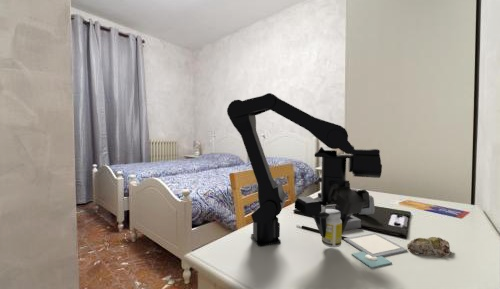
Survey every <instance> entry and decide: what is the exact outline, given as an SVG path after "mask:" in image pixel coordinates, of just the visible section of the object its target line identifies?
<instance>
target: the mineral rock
mask: <svg viewBox="0 0 500 289" xmlns="http://www.w3.org/2000/svg"><path fill="white" fill-rule="evenodd" d="M450 247H451V246H450V242H449V241H447V239H443V238H441V237H436V236H430V237H428V238H427V237H426V238H425V237H416V238H414V239H413V240H411V241H410V242H408V243H407V250H409V251H410V253H412V254H416V255H420V256H435V257H437V258H438V257H439V258H444V257H447V256H449V255H450V253H451V250H450Z"/></svg>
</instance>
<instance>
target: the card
mask: <svg viewBox="0 0 500 289" xmlns="http://www.w3.org/2000/svg"><path fill="white" fill-rule="evenodd" d="M351 256H353V257H354V258H356V259H357V260H359V261H360V262H361V263H363V264H364V265H365V266H367V267H368V268H370V269H375V268H380V267H384V266H389V265H391V264H392V263H393V262H392V261H390V260H389V259H387V258H385V256H383V257H382V256H377V257H372V256H370V255H368V254H367V253H365V252H364V251H358V252H353V253H351Z"/></svg>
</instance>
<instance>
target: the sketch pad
mask: <svg viewBox="0 0 500 289" xmlns="http://www.w3.org/2000/svg"><path fill="white" fill-rule="evenodd" d="M343 240H344V241H345V242H347V243H348V244H350V245H351V246H352V247H354V248H356V249H357V250H359V252H362V251H364V252H365V253H367V254H368V255H370V256H372V257H377V256H382V257H387V256H390V255H395V254H401V253H406V252H408V248H405V247H403V246H401V245H400V244H397V242H396V243H395V242H393V241H391V240H389V239H388V238H386V237H384V236H381V235H380V234H378V233H376V232H372V233H367V234H363V235H356V236H352V237H351V236H350V237H345V238H343Z"/></svg>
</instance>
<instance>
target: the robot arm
mask: <svg viewBox="0 0 500 289" xmlns="http://www.w3.org/2000/svg"><path fill="white" fill-rule="evenodd" d="M269 111H272V112H274V113H276V114H277V115H279V116H281V117H282V118H284V119H287V120H289V121H290V122H292V123H294V124H295V125H297V126H299V127H301V128H303V129H304V130H306V131H308V132H309V133H310V134H311V135H313V136H314V137H315V138H316V139H317V140H319V141H320V142H321V143H322V144H324V145H325V147H327V148H329V150H328V149H324V147H322V146H321V147H320V148H319V149H318V150H317V151H316V152H315V153H314V158H321V176H320V177H318V179H317V181H318V182H319V183H321V186H320V192H318V193H317V198H320V199H316V198H313V197H311V196H300V197H297V198H296V199H295V200H294V209H295V210H297V211H299V212H300V213H302V214H303V215H305V216H309V217H310V216H312V218H313V219H314V223H315V224H316V226H317V229H318V231H319V234H320V236H321V238H322V237H323V238H325V234H326V218H327V217H328V216H329V214H328V213H326V209H327V208H330V207H334V209H335V210H338V211H340V213H341V217H340V219H341V220H342V234H343V233H344V231H345V230H344V229H345V226H346V224H347V222H348V220H349V218H350V216H351V215H352V216H353V215H354V214H357V213H361V210H362V209H364V208H370V200H369V195H370V193H369V192H368V191H367V190H366V189H357V190H358V191H356V190H351V189H350V188H351V183H350V180H347V179H346V178H347V176H346V175H347V164H348V172H349V173H352V175H353V176H352V177H358V178H373V179H374V178H376V179H379V178H381V176H382V173H383V172H382V169H383V165H382V160H381V155H380V153H381V150H380V149H378V148H370V149H364V148H363V149H359V148H358V149H357V148H355V146H354V145H353V144H351V143H350V141H349V140H348V139H349V135H348V134H349V133H348V131H347V129H346V128H345V127H344V126H341V125H339V124H335V123H334V122H330V121H327V120H324V119H320V118H318V117H315V116H313V115H310V114H309V113H307V112H305V111H303V110H302V109H299V108H297V106H294V105H292V104H290V103H289V102H286V101H285V100H283V99H281V98H280V97H278V96H277V95H275V94H273V93H271V92H270V93H269V92H268V93H265V94H263V95H260V96H256V97H252V98H248V99H244V100H242V99H233V100H232V101H230V103H229V104H228V106H227V108H226V114H227V116H228V117H229V120H230V121H231V123H232V125H233V127H234V128H235V129H236V131H237V132H238V133H239V135H240V137H241V139H242V143H243V145H244V149H245V151H246V154H247V157H248V159H249V163H250V166H251V169H252V171H253V175H254V177H255V181H256V182H257V183H256V184H257V198H258V204H259V205H257V207H256V209H255V210H254V211H253V212H252V213H251V215H250V216H251V219H252V233H251V234H250V237H251V238H252V240H253V241H254V242H255V243H256V245H257V246H258V247H264V246H270V245H274V244H280V243H282V242H281V239H280V236H281V235H280V234H281V233H280V231H281V230H280V229H281V228H280V227H281V223H280V222H279V217H278V216H279V215H280V214H281V211H282V210H283V208H284V206H285V204H286V197H287V194H286V192H285V191H284V186H283V182H279V183H277V182H276V180H275V179H274V178H273V175H272V173H271V172H272V171H271V169H270V166H269V164H268V161H267V158H266V155H265V152H264V149H263V146H262V144H261V140H260V137H259V135H258V132H257V116H258V115H261V114H262V113H266V112H269ZM330 149H331V150H330ZM337 149H339V150H340V151H341V152H343V154H341V153H338V152H337ZM347 159H348V163H347Z"/></svg>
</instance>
